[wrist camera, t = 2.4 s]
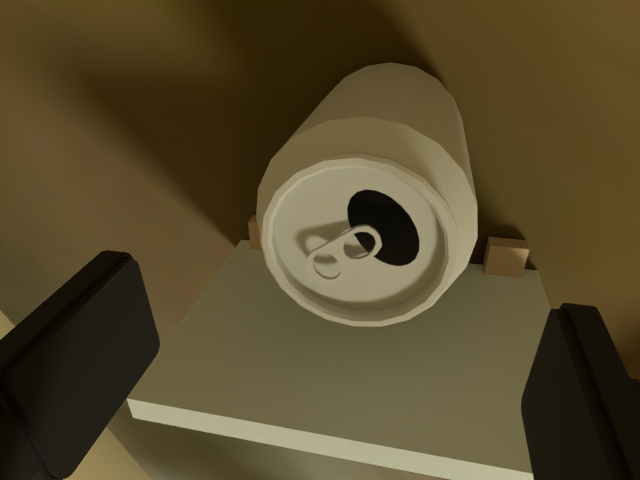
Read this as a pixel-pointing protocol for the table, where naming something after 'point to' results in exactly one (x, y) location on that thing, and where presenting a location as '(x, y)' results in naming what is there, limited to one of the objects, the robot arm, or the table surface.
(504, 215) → the table surface
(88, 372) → the robot arm
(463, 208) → the can
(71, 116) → the table surface
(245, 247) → the screen
